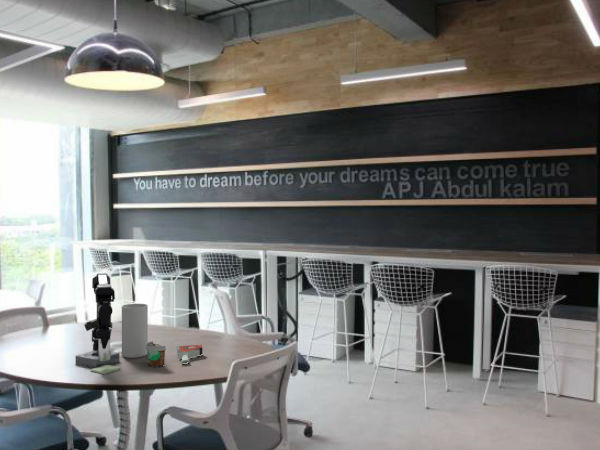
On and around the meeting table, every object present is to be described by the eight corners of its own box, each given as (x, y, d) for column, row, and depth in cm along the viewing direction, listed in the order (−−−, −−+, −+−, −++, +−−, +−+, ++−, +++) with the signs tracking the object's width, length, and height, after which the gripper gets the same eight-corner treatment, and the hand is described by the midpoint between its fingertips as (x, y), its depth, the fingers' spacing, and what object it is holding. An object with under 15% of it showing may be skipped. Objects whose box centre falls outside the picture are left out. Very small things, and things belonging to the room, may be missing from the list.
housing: (99, 357, 279) (99, 349, 278) (119, 361, 272) (119, 352, 272) (75, 363, 266) (75, 355, 266) (96, 368, 260) (96, 359, 259)
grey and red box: (184, 370, 265) (213, 358, 281) (184, 359, 264) (213, 347, 280) (158, 361, 275) (188, 350, 291) (158, 351, 274) (188, 340, 290)
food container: (140, 363, 267) (140, 343, 267) (152, 361, 272) (152, 341, 271) (154, 369, 259) (154, 347, 258) (165, 366, 263) (165, 345, 263)
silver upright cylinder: (104, 357, 260) (104, 338, 260) (112, 358, 258) (112, 339, 257) (96, 359, 256) (96, 340, 255) (104, 361, 253) (103, 341, 253)
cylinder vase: (117, 354, 284) (117, 305, 283) (141, 350, 292) (141, 302, 291) (127, 359, 274) (127, 308, 274) (151, 355, 282) (151, 306, 282)
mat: (106, 366, 263) (106, 364, 263) (119, 369, 258) (119, 367, 258) (90, 371, 255) (90, 369, 255) (104, 374, 250) (104, 372, 250)
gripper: (87, 310, 263) (87, 343, 263) (83, 318, 245) (83, 353, 245) (112, 309, 266) (112, 342, 266) (110, 317, 248) (110, 352, 248)
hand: (104, 347), depth 257 cm, fingers closed on silver upright cylinder, 5 cm apart
